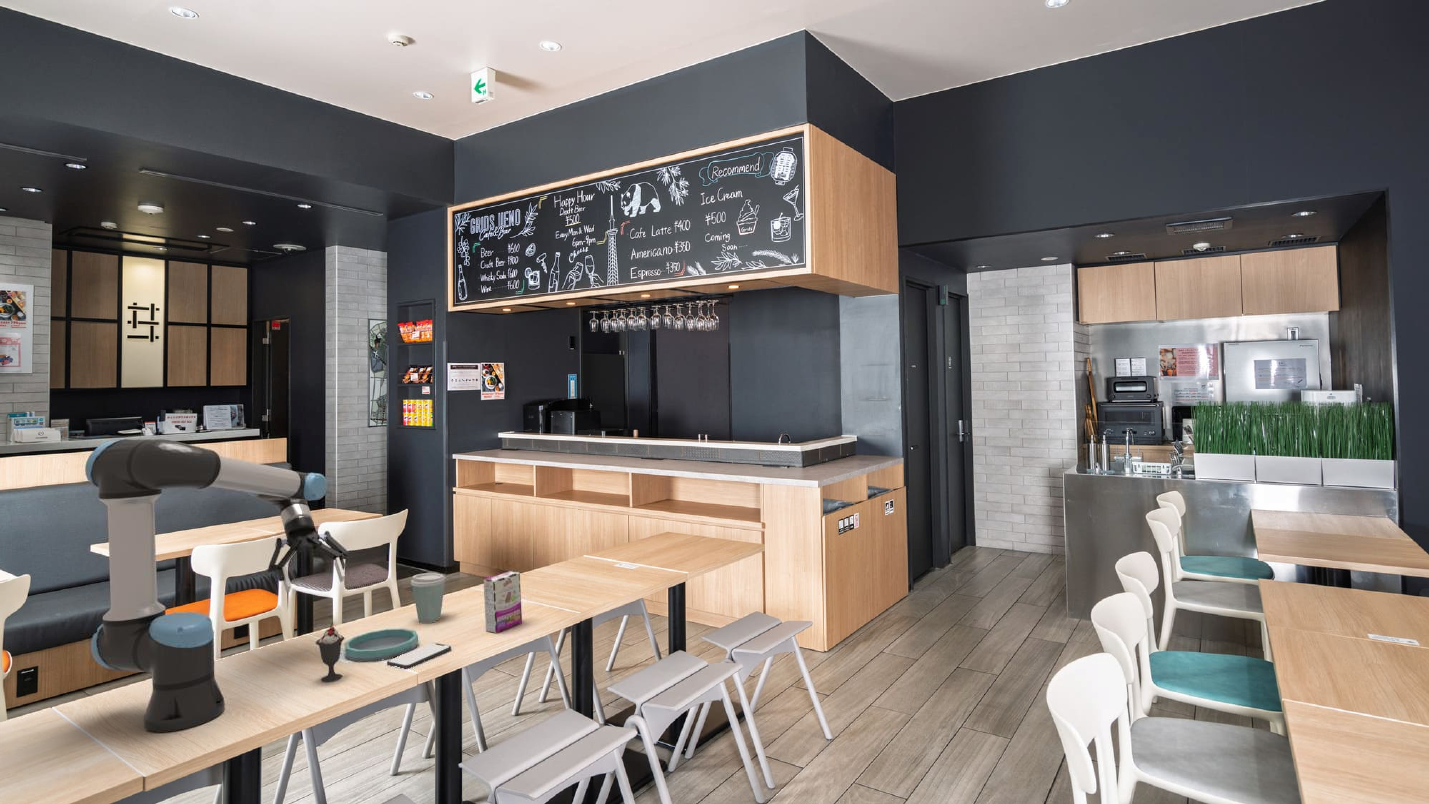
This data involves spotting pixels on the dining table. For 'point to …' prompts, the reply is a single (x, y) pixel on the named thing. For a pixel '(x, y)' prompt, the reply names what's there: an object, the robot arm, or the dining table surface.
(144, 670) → the robot arm
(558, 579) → the dining table surface
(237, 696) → the dining table surface
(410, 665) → the smartphone
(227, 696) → the dining table surface
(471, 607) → the dining table surface
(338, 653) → the sundae
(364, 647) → the round tray
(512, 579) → the candy bar box
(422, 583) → the disposable coffee cup
